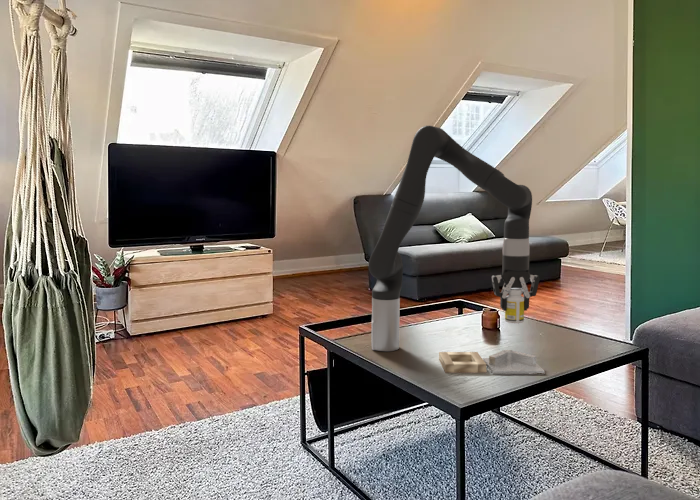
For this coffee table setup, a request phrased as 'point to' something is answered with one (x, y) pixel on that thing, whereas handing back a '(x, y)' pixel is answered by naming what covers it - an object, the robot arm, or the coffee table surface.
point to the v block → (512, 363)
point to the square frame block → (462, 362)
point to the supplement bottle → (514, 306)
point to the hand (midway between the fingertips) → (514, 309)
